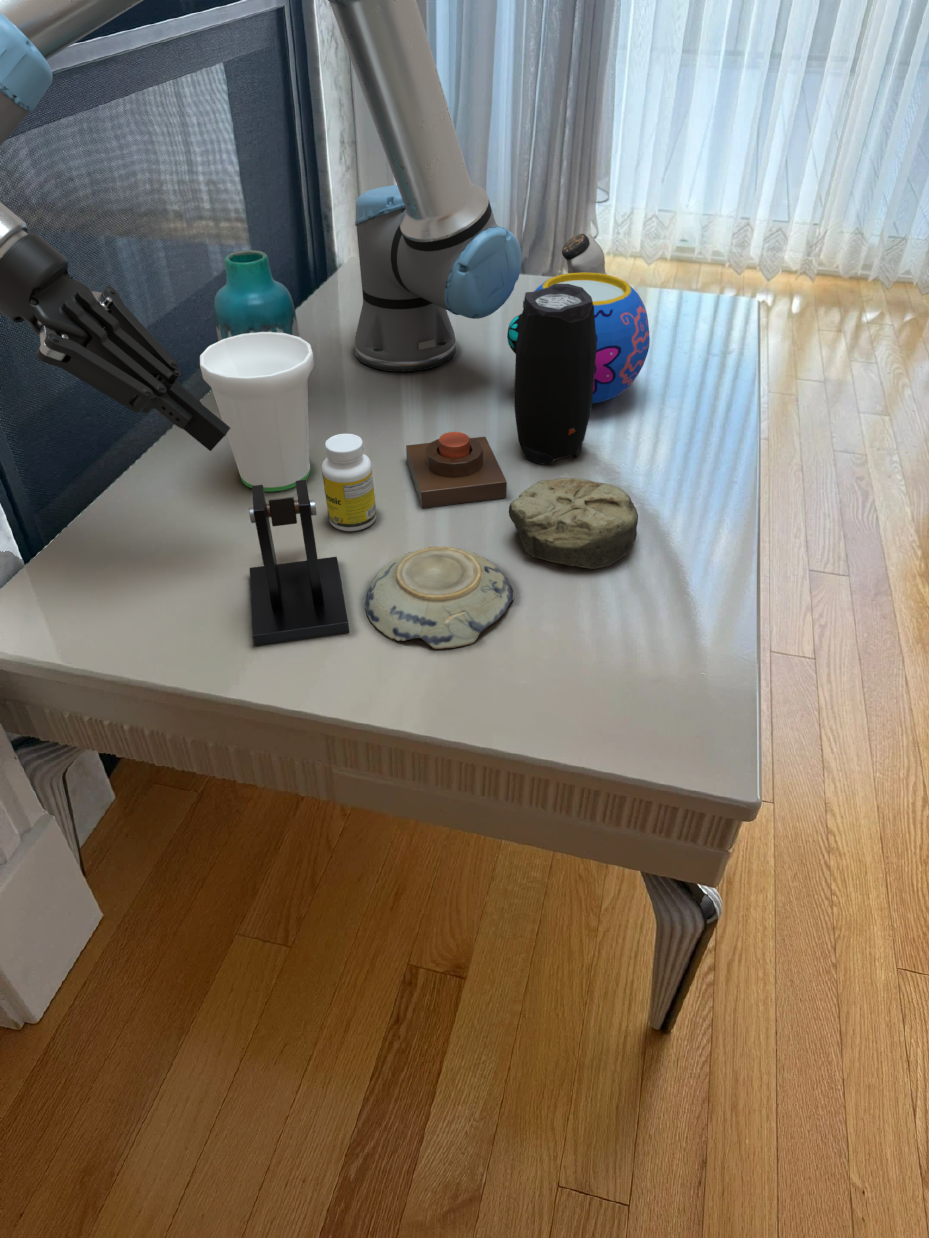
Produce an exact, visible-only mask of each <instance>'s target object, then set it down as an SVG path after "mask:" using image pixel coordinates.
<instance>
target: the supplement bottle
mask: <svg viewBox="0 0 929 1238" xmlns="http://www.w3.org/2000/svg"><path fill="white" fill-rule="evenodd" d="M324 447H325V454H326V458H324V460H323V462H322V464H321V473H322V480H323V486H324V494H325V503H326V508H327V516H328V521H329V523H330V525H332V527H334V528H335V529H338V530H340V531H344V532H357V531H362V530H365V529H366V528H369V527H370V526H371V525H372V524H374V522H375V521H376V519H377V505H376V496H375V487H374V486H375V485H374V477H373V476H374V475H373V466H372V461H371V459H370V458H369V456H367V455H366V454H365V451H364V450H365V449H364V441H363V439H362V438H361V437H360V436H359V435H356V434H353V433H339V434H335V435H332V436H330V437H329V438H327V440H325V444H324Z"/></svg>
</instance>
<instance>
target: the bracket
mask: <svg viewBox="0 0 929 1238" xmlns="http://www.w3.org/2000/svg"><path fill="white" fill-rule="evenodd" d="M295 488H296V496H297V500H298V505H299V512H300V514H299V518H300V524H301V531H302V537H303V544H304V550H305V556H306V560H298V561H292V562H284V563H278V562H277V561H278V560H277V557H276V556H277V555H276V551H275V550H276V549H275V545H274V539H273V534H272V527H271V522H270V517H269V516H268V511H267V505H266V504H267V501H266V500H267V499H266V495H265V491H264V489H263V485H255V486H252V488H251V494H252V495H251V496H252V507H249V508H248V513H249V519H250V523H251V524H255V528H256V532H257V538H258V543H259V548H260V549H259V550H260V554H261V558H262V564H263V565H260V566H251V567H249V584H250V585H249V588H250V589H249V590H250V611H251V631H252V633H251V634H252V635H251V636H252V640H253V646H255V647H258V646H265V645H273V644H278V643H285V642H293V641H300V640H307V639H313V638H320V637H327V636H328V637H329V636H335V635H342V634H349V633H350V625H349V619H348V613H347V607H346V602H345V597H344V589H343V584H342V578H341V573H340V572H341V571H340V567H339V561H338V557H337V556H329V557H321V558H318V552H317V545H316V544H317V543H316V538H315V530H314V523H313V517H312V516H317V505H316V500H315V499H310V496H309V489H308V481H307V480H299V481H296V487H295Z"/></svg>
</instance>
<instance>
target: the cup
mask: <svg viewBox="0 0 929 1238" xmlns="http://www.w3.org/2000/svg"><path fill="white" fill-rule="evenodd" d="M314 367H315V363H314V352H313V349H312V345H311V344H310V343H309V342H308V341H306V340H305V339H303V338H302V337H300V336H299V337H297V336H293V335H289V334H285V333H275V332H257V333H247V334H241V335H237V336H233V337H229V338H226V339H223V340H221V341H219V342H218V341H217V342H215V343H212V344H210V345H209V346H207V347H206V348H205V350H204V351H203V352H202V353H200V356H199V368H200V371H201V375H202V379H203V381H204V382H205V383H206V384H207V385H208V386H209V387H210V388H211V391H212V394H213V397H214V400H215V403H216V406H217V409H218V413H219V415H220V419H221V420H222V421H223V422H224V423H225V424H227V425H228V426H229V427H230V429H229V431H228V432H227V434H226V437H227V439H228V443H229V447H230V449H231V451H232V455H233V458H234V462H235V464H236V467H237V470H238V474H239V475H240V479H241V482H242V483H243V484H244V485H245V486H246V487H247V488H250V489H252V486H255V485H263V489H264V493H265V492H267V493H273V492H275V493H276V492H282V491H287V490H290V489H293V488H296V481H299V480H306V481H307V480H308V479H309V477H310V474H311V472H312V471H311V463H310V440H309V439H310V437H309V435H310V434H309V433H310V432H309V382H308V381H309V379H308V378H309V376H310V374H311V372H312V370H313V368H314Z"/></svg>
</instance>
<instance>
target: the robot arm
mask: <svg viewBox="0 0 929 1238" xmlns="http://www.w3.org/2000/svg"><path fill="white" fill-rule="evenodd" d="M143 1H144V0H0V147H1V146H2V145H3V144H4V143H5V142H6V141H7V140H8V138H9V137H10V136H11V134H13V132H14V131H15V130H16V129H17V128H18V127H19V126H20V124H21V123H22V122H23V121H24V120H25V119H26V118H27V117H28V116H29V114H30V113H32V112H34V111H35V110H36V109H37V107H38V104H39V103H40V101H41V100H42V98H43V97H44V95H45V94H46V92H47V91H48V89H49V88H50V87H51V85H52V83H53V78H54V76H53V71H52V68H51V66H50V64H49V63H48V61H47V60H50V59H51V58H53V57H54V56H56V55H58V54H59V53H61V52H63V51H64V50H65V49H67V48H69V47H70V46H72V45H74V44H76V42H78V41H80V40H82V39H83V38H85V37H86V36H88V35H90V34H92V33H93V32H94V31H96V30H98V29H100V28H101V27H103V26H105V25H106V24H107V23H110V22H111V21H113V20H114V19H115V18H117V17H119V16H120V15H122V14H124V13H125V12H127V11H128V10H130V9H132V8H133V7H135V6H137V5H138V4H141V2H143ZM327 1H328V2H329V4H330V8H331V10H332V13H333V15H334V18H335V21H336V23H337V26H338V29H339V32H340V34H341V38H342V39H343V43H344V45H345V48H346V50H347V54H348V56H349V59H350V62H351V65H352V67H353V70H354V73H355V75H356V78H357V81H358V83H359V86H360V88H361V89H360V90H361V92H362V94H363V97H364V100H365V102H366V104H367V108H368V111H369V113H370V115H371V119H372V121H373V124H374V127H375V129H376V132H377V134H378V138H379V140H380V143H381V146H382V148H383V151H384V153H385V157H386V159H387V162H388V165H389V167H390V171H391V173H392V175H393V178H394V181H395V183H396V184H394V185H393V184H392V185H387V186H381V187H377V188H373V189H369V190H367V191H364V192H363V193H361V194H360V195H359V196H358V197H357V199H356V201H355V222H354V226H355V227H356V235H357V248H358V258H359V259H358V260H359V269H360V270H359V271H360V282H361V291H362V306H361V310H360V314H359V318H358V323H357V327H356V331H355V335H354V354H355V358H357V360H358V361H359V362H361V364H364V365H365V366H367V367H370V368H373V369H375V370H376V369H377V370H380V371H386V372H399V373H401V372H402V373H403V372H405V373H406V372H407V373H408V372H418V371H424V370H428V369H432V368H436V367H438V366H441V365H443V364H445V363H446V362H448V361H449V360H451V359H452V358H453V357H454V355H455V354H456V352H457V338H456V335H455V331H454V328H453V325H452V322H451V320H450V316H449V314H448V312H450V313H451V314H453V315H455V316H462V317H464V318H468V319H474V320H478V319H484V318H486V317H489V316H490V315H492V314H494V313H496V311H498V310H499V309H500V308H501V307H503V305H505V303H507V301H508V299H509V298H510V296H511V295H512V293H513V291H514V290H515V286H516V284H517V282H518V280H519V277H520V275H521V270H522V264H523V263H522V261H523V257H522V256H523V255H522V249H521V248H522V247H521V244H520V242H519V241H518V239H517V237H516V236H515V234H513V232H512V231H510V230H509V229H508V228H507V227H504V226H503V225H502V226H501V225H500V226H499V225H498V224H497V223H496V220H495V216H494V213H493V209H492V205H491V202H490V198H489V196H488V193H487V192H486V190H485V189H484V188H483V187H482V186H480V185H477V184H475V183H473V182H472V181H471V178H470V174H469V171H468V168H467V165H466V161H465V158H464V155H463V151H462V148H461V144H460V142H459V138H458V135H457V131H456V128H455V124H454V121H453V118H452V114H451V111H450V108H449V105H448V102H447V98H446V95H445V92H444V88H443V85H442V82H441V78H440V75H439V72H438V68H437V65H436V61H435V58H434V55H433V51H432V47H431V44H430V42H429V37H428V34H427V31H426V29H425V25H424V22H423V18H422V15H421V12H420V7H419V5H418V2H417V0H327ZM68 268H69V261H68V259H67V258H66V257H65V256H64V255H63V254H62V253H60V251H58V250H57V249H56V248H55V247H54V246H52V245H51V244H50V243H49V242H48V241H47V240H46V239H44V238H43V237H42V235H40V234H38V233H31V232H30V233H29V229H28V224H27V223H26V222H25V221H24V220H23V219H22V218H20V217H19V216H18V215H17V214H16V213H14V212H13V211H12V210H11V209H10V208H8V207H7V206H6V205H5V204H4V203H2V202H1V201H0V313H1V314H2V315H3V316H5V317H6V318H7V319H8V320H10V321H11V322H13V323H16V324H17V323H18V324H19V323H23V322H24V321H25V322H26V323H27V324H28V325H29V328H30V329H31V330H32V331H33V333H35V334H36V335H37V336H39V340H40V346H39V347H38V349H37V350H36V352H35V356H36V358H37V359H38V360H39V361H41V362H43V363H45V364H47V365H48V364H49V365H51V366H54V367H57V368H60V369H62V370H64V371H66V372H67V373H69V374H71V375H72V376H74V377H76V378H77V379H78V380H81V381H82V382H84V383H86V384H87V385H89V386H91V387H92V388H94V389H95V390H97V391H99V392H101V393H103V394H104V395H105V396H107V397H109V398H110V399H112V400H114V401H115V402H117V403H119V404H121V405H122V406H124V407H125V408H127V409H129V410H130V411H132V412H134V413H140V412H142V413H144V414H149V413H150V412H151V411H152V410H153V409H154V410H156V411H157V412H158V413H160V414H161V415H162V416H163V417H165V418H166V419H167V420H169V421H170V422H171V423H172V424H174V426H176V427H177V428H178V429H181V430H184V431H185V432H186V433H187V434H188V435H190V436H191V437H192V438H193V439H195V440H196V441H197V442H198V443H200V445H201V446H202V447H204V448H206V449H207V450H208V451H209V452H212V451H213V449H214V448H215V447H216V446H218V444H219V443H220V442H221V441H222V439H223V438H225V436H227V432H228V431H229V429H230V427H229V426H228V425H227V424H225V423H224V422H223V421H222V419H221V418H220V417H218V416H217V415H216V414H215V413H214V412H212V411H211V410H210V409H209V408H208V407H206V406H205V404H203V403H202V402H201V400H200V399H199V398H198V397H196V396H195V395H194V394H193V393H191V392H190V391H189V390H188V389H187V388H186V387H185V386H183V385H182V384H181V383H180V382H179V381H178V379H179V378H180V376H181V375H182V371H181V370H180V369H179V364H178V362H177V360H175V359H174V358H173V356H172V355H171V354H170V353H169V352H168V350H166V348H164V346H163V345H162V344H161V343H160V342H159V341H158V340H157V338H156V337H154V335H153V334H152V333H151V332H150V331H149V329H147V328H146V327H145V326H144V325H143V324H142V323H141V321H140V320H139V319H138V318H137V317H136V316H135V315H134V313H132V312H131V310H129V308H128V307H127V306H126V304H125V303H124V301H123V300H122V298H121V296H120V294H119V293H118V292H117V291H118V290H116V289H115V288H114V287H113V286H109V285H108V286H106V287H105V288H104V290H103V291H94V290H92V289H91V288H90V287H89V286H88V285H87V284H85V283H83V282H81V281H79V280H78V279H76V278H74V277H73V276H71V275H70V274H69V272H68Z"/></svg>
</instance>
